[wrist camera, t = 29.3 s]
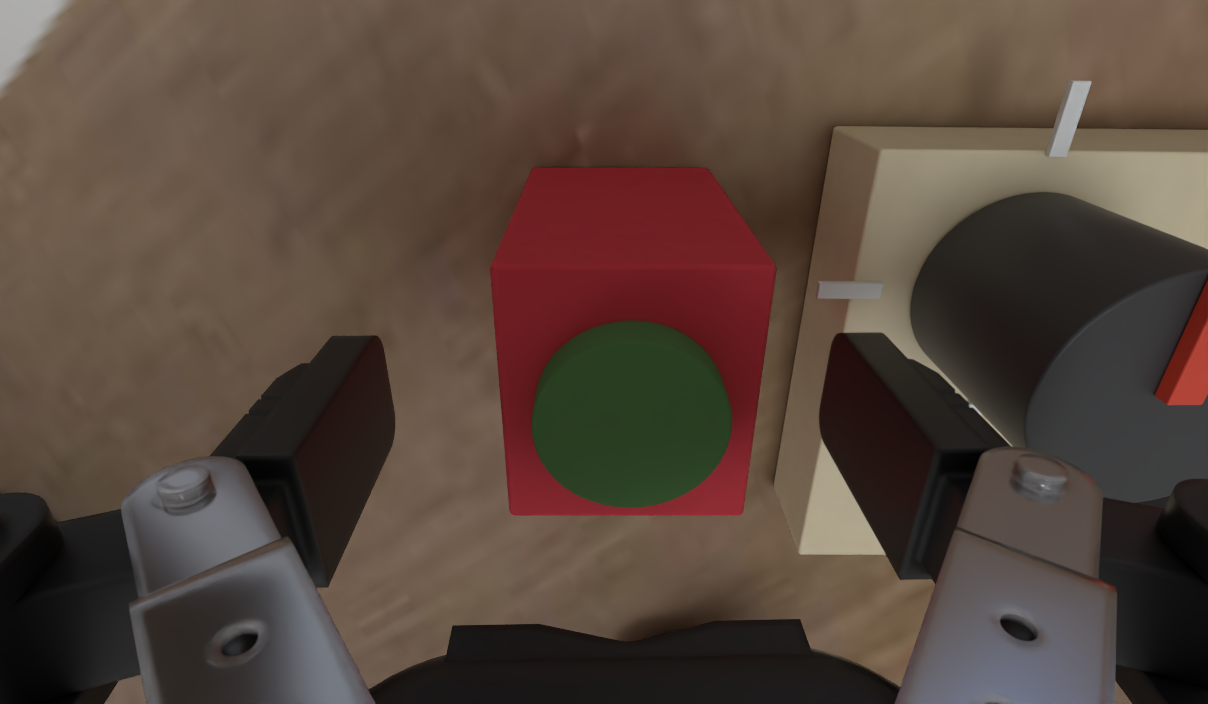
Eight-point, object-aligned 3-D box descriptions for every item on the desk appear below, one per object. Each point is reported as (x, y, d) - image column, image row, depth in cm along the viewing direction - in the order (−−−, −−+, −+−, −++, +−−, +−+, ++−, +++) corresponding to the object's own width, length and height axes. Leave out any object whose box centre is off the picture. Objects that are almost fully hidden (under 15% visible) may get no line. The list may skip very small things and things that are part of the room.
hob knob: (1076, 376, 15) (1258, 516, 11) (891, 377, 15) (1003, 517, 11) (1148, 190, 13) (1405, 274, 9) (934, 191, 13) (1092, 276, 9)
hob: (747, 485, 21) (770, 560, 18) (807, 66, 15) (855, 78, 12) (1206, 487, 21) (1300, 561, 18) (1439, 72, 15) (1630, 87, 12)
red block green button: (539, 346, 18) (503, 548, 11) (531, 166, 16) (480, 284, 9) (694, 346, 18) (752, 548, 11) (709, 167, 16) (792, 284, 9)
